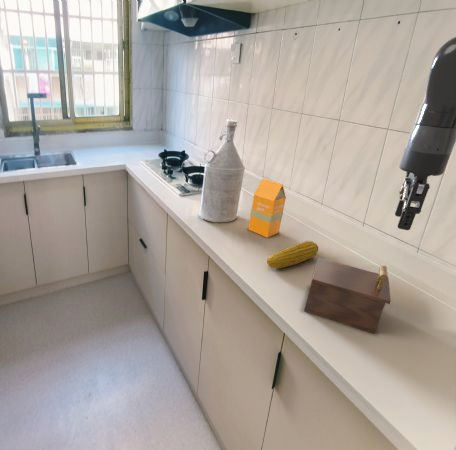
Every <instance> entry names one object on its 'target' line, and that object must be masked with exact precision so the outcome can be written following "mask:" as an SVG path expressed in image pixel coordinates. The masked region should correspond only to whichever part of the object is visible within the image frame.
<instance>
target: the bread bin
mask: <svg viewBox="0 0 456 450" xmlns="http://www.w3.org/2000/svg"><path fill="white" fill-rule="evenodd" d="M385 306H386V303H383V302H380V301H377V300H373V299H370V298H366V297H363V296H359V295H356V294H352V293H349V292H346V291H342V290H339V289H335V288H332V287H328V286H325V285H321V284H318V283H315V282H312V281H311V282H310V287H309V289H308V294H307V297H306V301H305V305H304V309H303V312H305V313H306V312H307V313H309V314H312V315H316V316H318V317H322V318H324V319H328V320H331V321H334V322H337V323H340V324H343V325H346V326H349V327H352V328H355V329H359V330H361V331H365V332H368V333H371V334H375V332H376V330H377V327H378V324H379V321H380V320H381V316H382V314H383V311H384V309H385Z"/></svg>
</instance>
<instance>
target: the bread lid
mask: <svg viewBox="0 0 456 450" xmlns="http://www.w3.org/2000/svg"><path fill="white" fill-rule="evenodd" d="M311 282H315V283H318V284H321V285H325V286H328V287H332V288H335V289H339V290H342V291H346V292H349V293H352V294H356V295H359V296H363V297H366V298H370V299H373V300H377V301H380V302H383V303H385V304H387V305H390V304H391V303H392V300H391V291H390V281H389V275H388V268H387V266H386V265H380V266H379V267H378V272H374V271H370V270H367V269H362V268H359V267H355V266H351V265H347V264H344V263H339V262H335V261H331V260H328V259H324V258H320V257H318V258H317V261H316V265H315V268H314V272H313V275H312V279H311Z"/></svg>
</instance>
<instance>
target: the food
mask: <svg viewBox="0 0 456 450" xmlns="http://www.w3.org/2000/svg"><path fill="white" fill-rule="evenodd" d="M318 252H319V245H318V244H317V243H316V242H314V241H311V240H308V241H303V242H300V243H298V244H295V245H292V246H289V247H287V248H284V249H281V250H279V251H276V252H274V253H273V254H271V255H270V256H269V257H268V258H267V260H266V263H267V266H268V267H270V268H272V269H281V268H286V267H289V266H293V265H297V264H300V263H302V262H305V261H308V260H309V259H312V258H314V257H315V256H317V254H318Z"/></svg>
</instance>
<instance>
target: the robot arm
mask: <svg viewBox="0 0 456 450" xmlns="http://www.w3.org/2000/svg"><path fill="white" fill-rule="evenodd" d="M414 123H415V124H414V125H413V127H412V129H411V131H410V133H409V135H408V139H407V141H406V145H405V147H404V151H403V153H402V156H401V160H400V163H399V166H398V167H399V169H400V170H401V171H404V172H406V173H405V177H404V178H403V180H402V185H401V187H400V190H399V191H398V193H399V194H398V195H399V196H398V199H399V201H398V203H397V206H396V209H395V211H394V215H395V217H399V220H398V222H397V228H398V229H399V230H404V231H409V230H411V228H412V226H413V223H414V220H415V217H416V215H420V213H421V212H422V208H423V205H424V203H425V200H426V197H427V194H428V193H429V190H430V188H431V187H430V186H431V185H430V183H428V178H429V177H431V176H433V177H438V176H442V175H443V174H444V173H445V170H446V168H447V165H448V162H449V160H450V157H451V155H452V153H453V150H454V146H455V145H456V36H454V37H452V38H450V39H448V40H447V41H446V42H445V43H443V44H442V45H441V46H440V47H439V49H438V50H437V52H436V54H435V56H434V57H433V61H432V63H431V67H430V71H429V74H428V79H427V84H426V88H425V94H424V98H423V100H422V102H421V104H420V108H419V111H418V113H417V116H416V118H415V122H414ZM412 204H414V205H415V206H411V205H412Z"/></svg>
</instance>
